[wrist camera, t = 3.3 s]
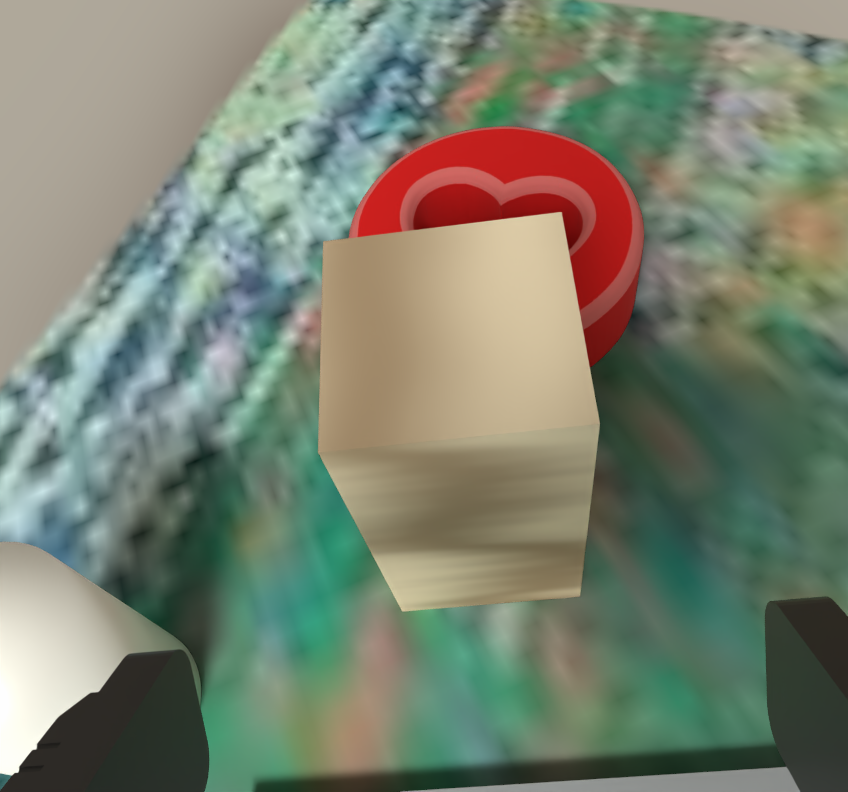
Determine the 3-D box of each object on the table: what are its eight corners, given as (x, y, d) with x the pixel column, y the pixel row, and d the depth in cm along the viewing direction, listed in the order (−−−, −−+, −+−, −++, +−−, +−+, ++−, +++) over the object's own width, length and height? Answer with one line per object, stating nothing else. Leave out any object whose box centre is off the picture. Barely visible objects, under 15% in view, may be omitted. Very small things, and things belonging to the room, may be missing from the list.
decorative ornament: (377, 425, 27) (358, 373, 24) (354, 210, 32) (336, 148, 29) (669, 374, 26) (684, 316, 23) (599, 165, 31) (604, 98, 28)
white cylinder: (225, 646, 23) (114, 565, 17) (161, 814, 21) (10, 788, 15) (92, 611, 24) (-55, 523, 18) (19, 767, 22) (-173, 725, 16)
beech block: (556, 438, 25) (561, 211, 17) (580, 596, 23) (600, 424, 14) (397, 454, 26) (323, 241, 17) (402, 611, 23) (317, 452, 15)
